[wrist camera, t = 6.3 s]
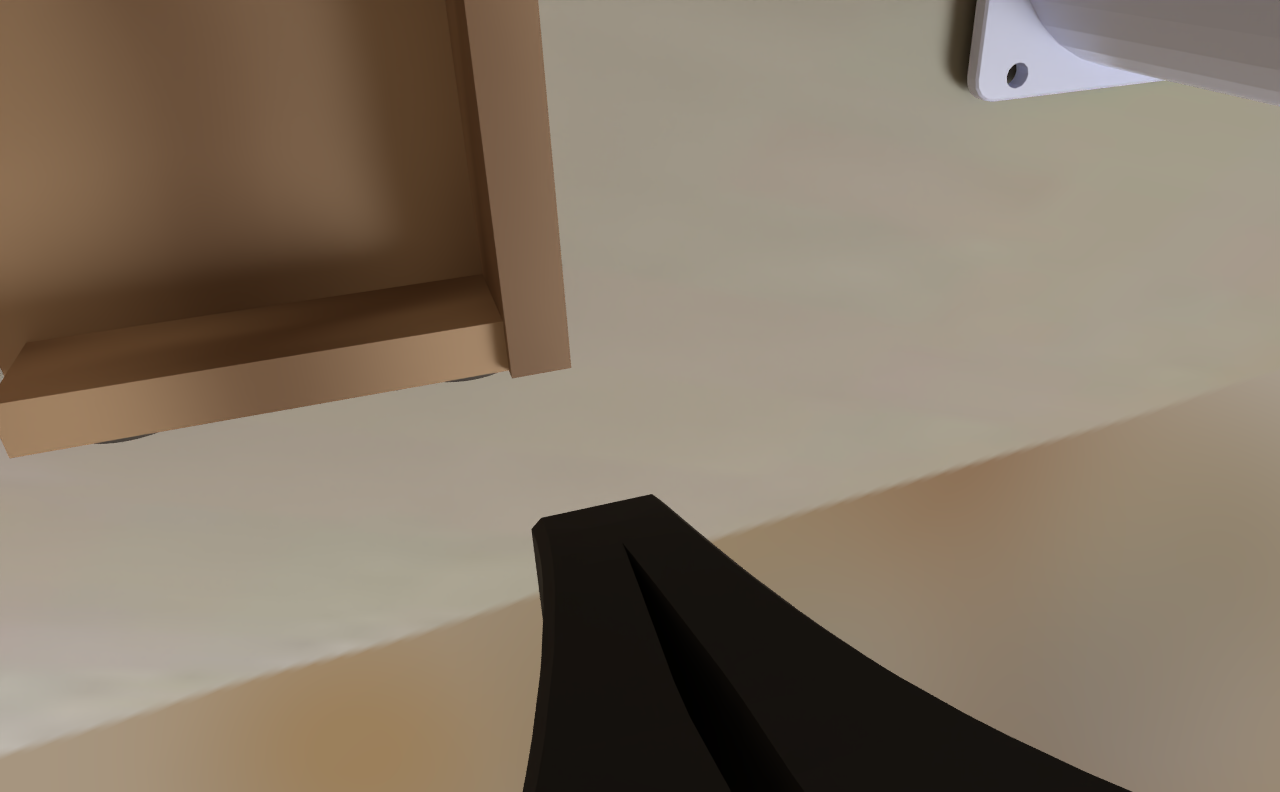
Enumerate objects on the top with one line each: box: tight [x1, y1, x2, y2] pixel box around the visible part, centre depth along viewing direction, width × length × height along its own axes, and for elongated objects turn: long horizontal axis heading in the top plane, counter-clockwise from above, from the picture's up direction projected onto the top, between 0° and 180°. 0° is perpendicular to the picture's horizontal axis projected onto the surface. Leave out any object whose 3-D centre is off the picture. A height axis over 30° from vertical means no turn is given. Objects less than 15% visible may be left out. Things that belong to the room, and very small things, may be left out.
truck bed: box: [0, 0, 571, 458], centre depth 14 cm, size 9×11×4 cm
